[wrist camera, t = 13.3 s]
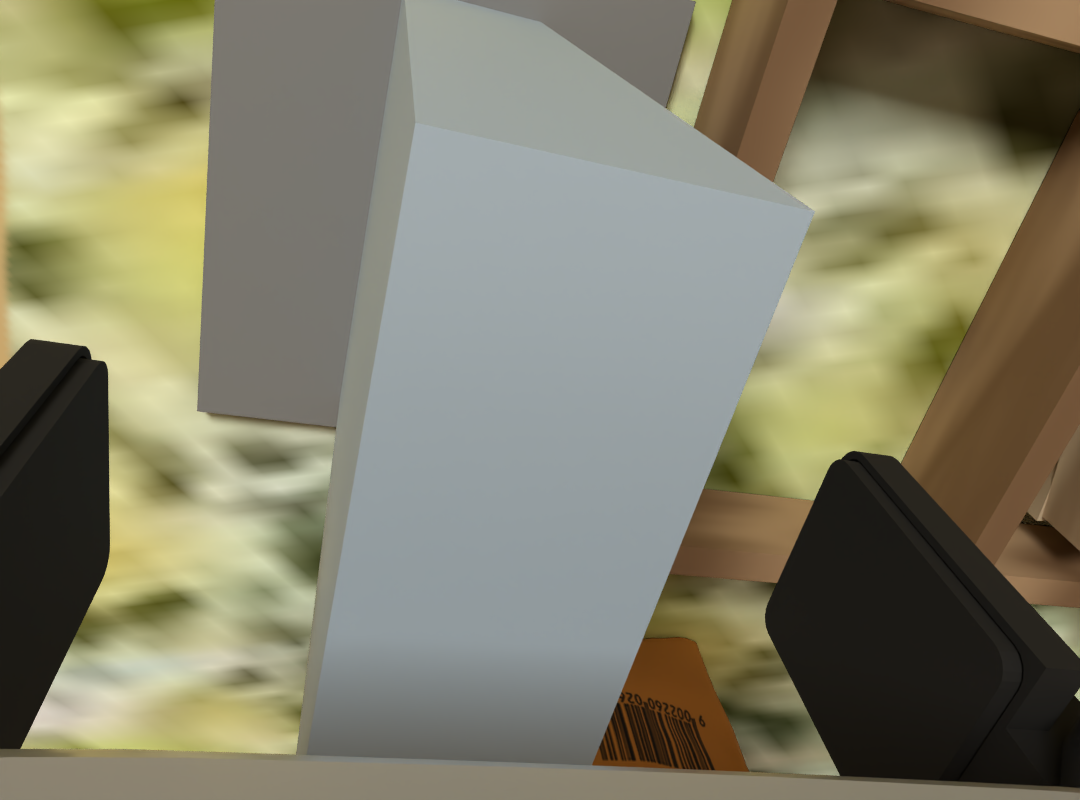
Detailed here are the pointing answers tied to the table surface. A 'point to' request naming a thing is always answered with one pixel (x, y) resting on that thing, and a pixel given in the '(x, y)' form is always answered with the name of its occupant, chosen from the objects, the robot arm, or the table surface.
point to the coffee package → (669, 714)
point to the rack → (987, 350)
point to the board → (525, 392)
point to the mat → (333, 177)
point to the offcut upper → (1066, 493)
